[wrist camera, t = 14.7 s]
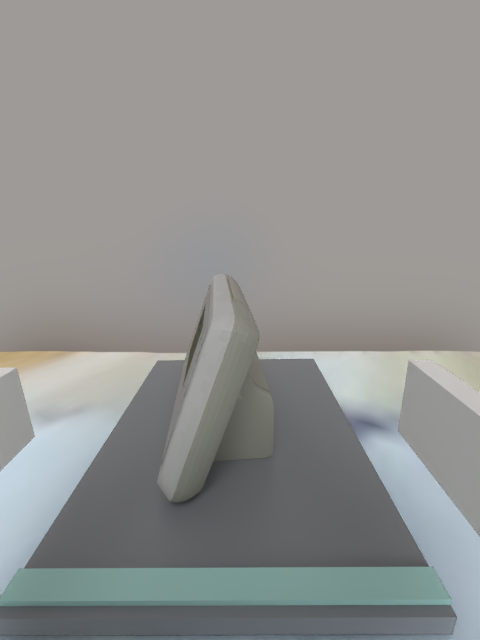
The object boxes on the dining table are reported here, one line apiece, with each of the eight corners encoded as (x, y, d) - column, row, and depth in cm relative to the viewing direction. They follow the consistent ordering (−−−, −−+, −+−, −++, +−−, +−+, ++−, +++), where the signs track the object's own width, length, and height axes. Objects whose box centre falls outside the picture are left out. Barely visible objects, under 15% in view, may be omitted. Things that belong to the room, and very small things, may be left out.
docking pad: (312, 366, 35) (313, 356, 34) (452, 634, 12) (458, 612, 11) (158, 368, 35) (157, 358, 35) (-3, 635, 12) (-11, 613, 12)
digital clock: (188, 372, 32) (181, 271, 29) (274, 375, 31) (276, 271, 28) (104, 508, 16) (70, 320, 13) (272, 524, 15) (276, 325, 12)
